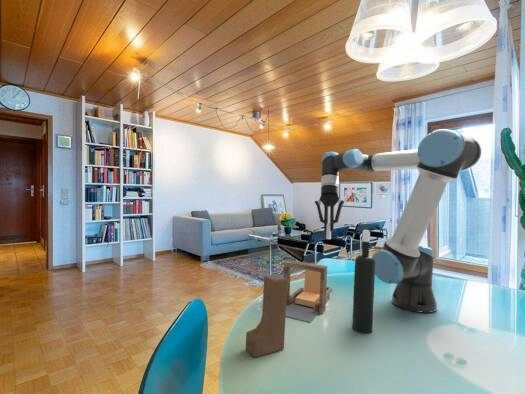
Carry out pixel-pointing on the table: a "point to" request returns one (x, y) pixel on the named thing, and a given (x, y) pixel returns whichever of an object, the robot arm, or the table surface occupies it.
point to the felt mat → (300, 313)
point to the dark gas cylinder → (363, 288)
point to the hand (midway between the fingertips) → (328, 238)
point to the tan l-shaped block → (310, 289)
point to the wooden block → (270, 319)
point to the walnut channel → (324, 296)
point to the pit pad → (328, 289)
